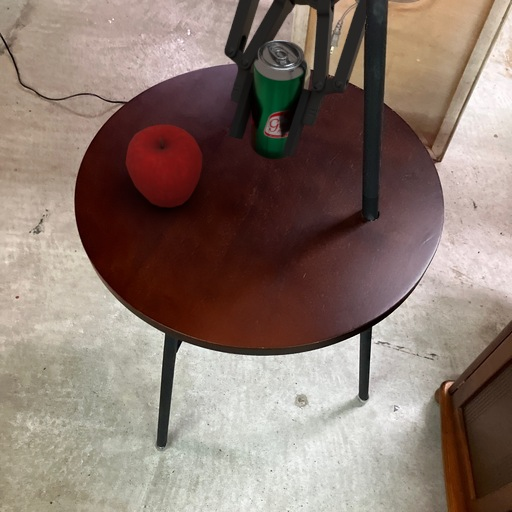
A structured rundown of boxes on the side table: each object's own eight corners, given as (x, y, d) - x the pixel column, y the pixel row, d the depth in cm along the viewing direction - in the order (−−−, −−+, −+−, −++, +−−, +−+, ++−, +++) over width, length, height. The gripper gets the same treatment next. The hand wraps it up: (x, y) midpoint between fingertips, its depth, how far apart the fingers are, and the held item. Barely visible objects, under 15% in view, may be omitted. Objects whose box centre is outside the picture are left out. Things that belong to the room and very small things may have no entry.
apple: (214, 211, 74) (212, 155, 65) (145, 231, 72) (132, 176, 63) (191, 159, 79) (186, 100, 70) (126, 176, 77) (112, 118, 68)
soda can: (265, 169, 59) (272, 79, 49) (241, 139, 61) (243, 46, 51) (304, 152, 60) (319, 61, 50) (280, 123, 63) (289, 30, 53)
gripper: (432, -61, 53) (349, 173, 58) (257, -104, 56) (194, 122, 61) (437, -96, 45) (342, 175, 51) (236, -143, 49) (167, 116, 54)
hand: (261, 145), depth 56 cm, fingers closed on soda can, 5 cm apart
